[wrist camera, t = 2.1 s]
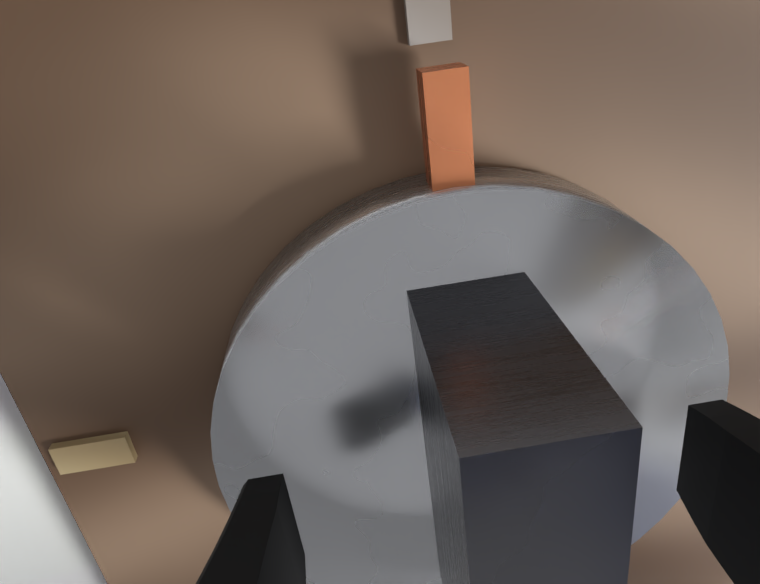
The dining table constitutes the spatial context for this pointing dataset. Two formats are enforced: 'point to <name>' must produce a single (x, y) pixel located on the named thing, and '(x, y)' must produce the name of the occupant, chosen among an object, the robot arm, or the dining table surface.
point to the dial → (469, 374)
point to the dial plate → (318, 203)
